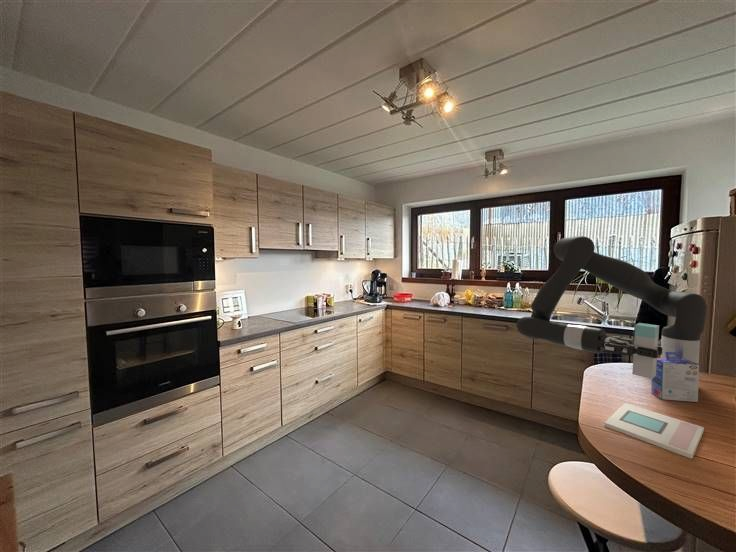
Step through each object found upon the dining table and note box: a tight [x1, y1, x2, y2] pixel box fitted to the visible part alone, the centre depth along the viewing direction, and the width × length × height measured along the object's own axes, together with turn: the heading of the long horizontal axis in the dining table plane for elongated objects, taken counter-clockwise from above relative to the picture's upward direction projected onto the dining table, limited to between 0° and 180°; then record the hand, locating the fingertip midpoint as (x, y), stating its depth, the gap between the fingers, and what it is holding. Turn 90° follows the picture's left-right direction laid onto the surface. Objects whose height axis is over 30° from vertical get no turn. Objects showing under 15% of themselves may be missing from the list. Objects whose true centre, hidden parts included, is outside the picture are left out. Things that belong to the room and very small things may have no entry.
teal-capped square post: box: [631, 322, 660, 380], centre depth 80 cm, size 4×4×14 cm
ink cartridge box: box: [650, 352, 700, 403], centre depth 94 cm, size 10×6×14 cm, turn 78°
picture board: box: [604, 402, 705, 459], centre depth 78 cm, size 18×16×1 cm
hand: (659, 352), depth 78 cm, fingers closed on teal-capped square post, 4 cm apart
